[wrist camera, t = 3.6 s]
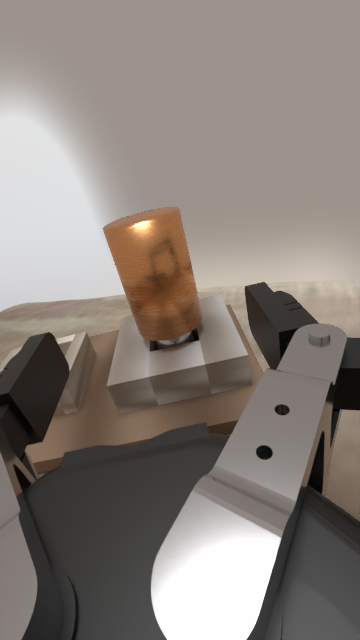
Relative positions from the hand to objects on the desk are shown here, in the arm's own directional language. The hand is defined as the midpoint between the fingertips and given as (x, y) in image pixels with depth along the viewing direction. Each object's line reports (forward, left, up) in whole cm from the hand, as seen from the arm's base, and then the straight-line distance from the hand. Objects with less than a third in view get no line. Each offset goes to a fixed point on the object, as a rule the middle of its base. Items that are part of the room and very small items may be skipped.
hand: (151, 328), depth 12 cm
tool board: (+5, -8, -9) cm, 14 cm away
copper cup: (0, -8, -8) cm, 12 cm away
